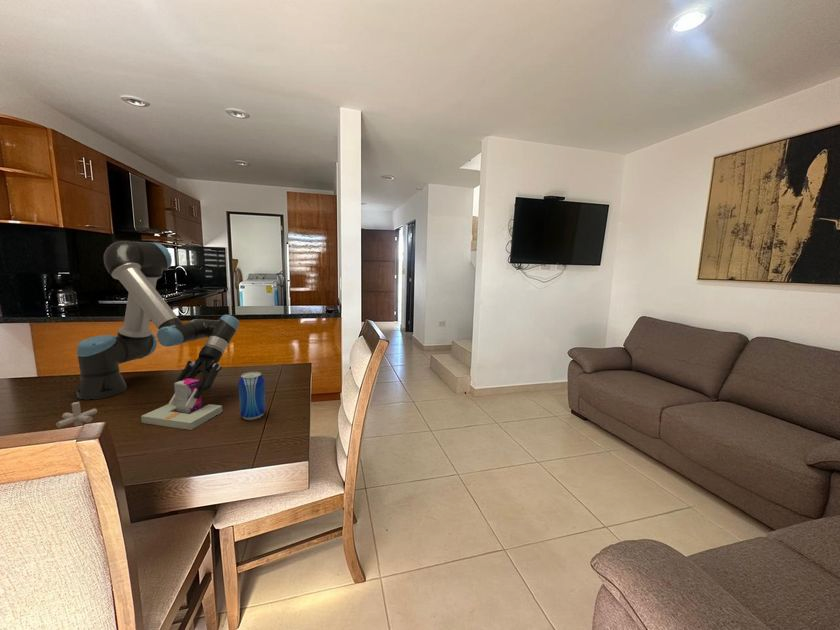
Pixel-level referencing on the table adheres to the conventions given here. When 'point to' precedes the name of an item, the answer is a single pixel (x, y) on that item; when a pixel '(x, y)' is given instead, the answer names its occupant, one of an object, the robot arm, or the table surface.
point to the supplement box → (186, 395)
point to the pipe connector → (76, 416)
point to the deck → (180, 416)
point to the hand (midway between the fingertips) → (180, 405)
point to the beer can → (251, 395)
